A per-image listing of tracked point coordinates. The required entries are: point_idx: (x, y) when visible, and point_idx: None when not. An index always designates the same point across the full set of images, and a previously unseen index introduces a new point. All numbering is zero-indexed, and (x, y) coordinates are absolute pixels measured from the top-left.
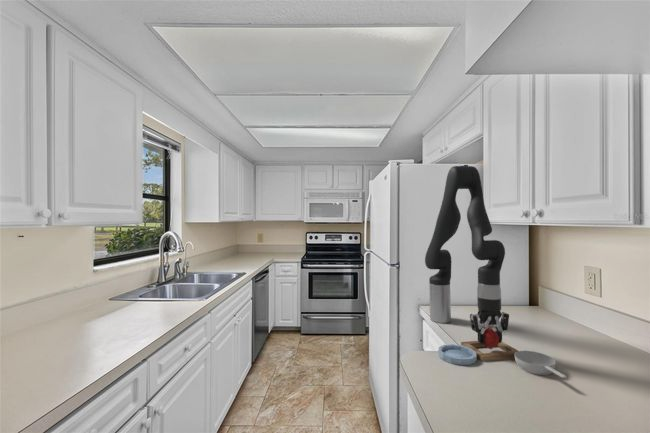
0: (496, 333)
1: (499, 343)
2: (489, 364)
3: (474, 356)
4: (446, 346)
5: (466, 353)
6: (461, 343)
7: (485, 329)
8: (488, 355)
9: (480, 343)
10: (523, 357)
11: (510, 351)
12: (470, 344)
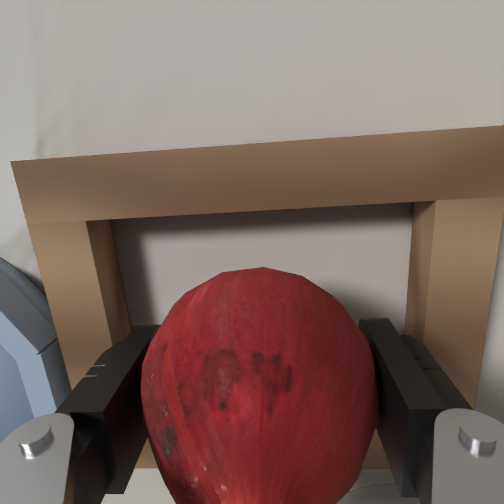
0: (343, 494)
1: (430, 250)
2: (137, 475)
3: None
4: None
5: (15, 361)
6: (23, 166)
7: (189, 454)
8: (148, 462)
9: (221, 212)
10: (412, 500)
11: None
12: (103, 218)
